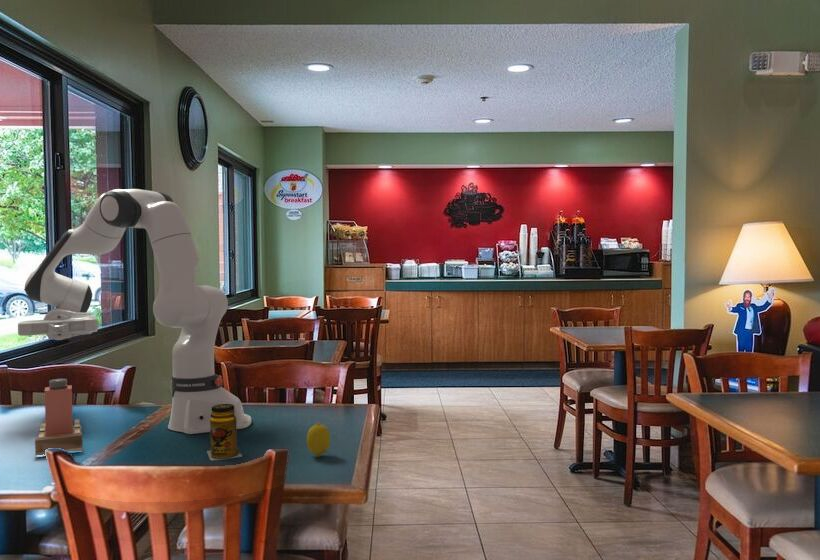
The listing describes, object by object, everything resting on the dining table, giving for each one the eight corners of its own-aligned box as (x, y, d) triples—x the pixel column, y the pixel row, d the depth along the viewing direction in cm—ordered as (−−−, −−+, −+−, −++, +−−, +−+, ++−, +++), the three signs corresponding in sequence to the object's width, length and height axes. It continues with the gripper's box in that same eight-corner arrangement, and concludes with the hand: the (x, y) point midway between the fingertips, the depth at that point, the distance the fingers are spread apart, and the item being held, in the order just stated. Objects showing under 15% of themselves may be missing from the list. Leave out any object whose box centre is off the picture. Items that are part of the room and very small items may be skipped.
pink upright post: (46, 438, 174) (45, 379, 174) (73, 435, 177) (71, 377, 176) (46, 442, 170) (44, 382, 169) (73, 439, 172) (71, 380, 172)
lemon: (307, 453, 163) (307, 420, 163) (331, 452, 164) (330, 419, 163) (306, 460, 158) (305, 426, 157) (330, 459, 158) (329, 425, 158)
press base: (40, 434, 183) (39, 418, 183) (81, 429, 188) (80, 414, 187) (35, 458, 162) (35, 440, 162) (82, 452, 166) (81, 435, 166)
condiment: (210, 461, 158) (209, 410, 157) (206, 451, 166) (205, 402, 165) (242, 457, 161) (241, 407, 160) (237, 448, 169) (236, 400, 168)
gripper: (18, 315, 196) (14, 319, 184) (96, 312, 205) (98, 315, 193) (19, 337, 196) (15, 343, 184) (97, 333, 205) (98, 337, 193)
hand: (58, 329), depth 189 cm, fingers closed
